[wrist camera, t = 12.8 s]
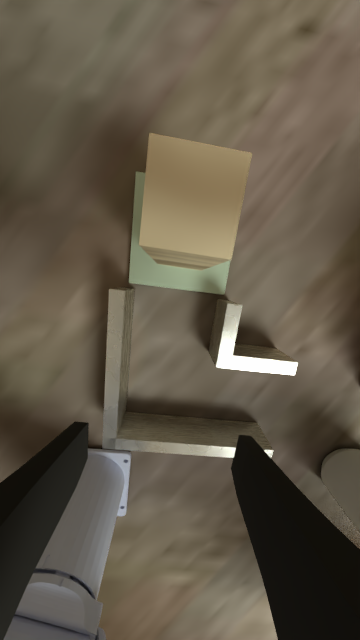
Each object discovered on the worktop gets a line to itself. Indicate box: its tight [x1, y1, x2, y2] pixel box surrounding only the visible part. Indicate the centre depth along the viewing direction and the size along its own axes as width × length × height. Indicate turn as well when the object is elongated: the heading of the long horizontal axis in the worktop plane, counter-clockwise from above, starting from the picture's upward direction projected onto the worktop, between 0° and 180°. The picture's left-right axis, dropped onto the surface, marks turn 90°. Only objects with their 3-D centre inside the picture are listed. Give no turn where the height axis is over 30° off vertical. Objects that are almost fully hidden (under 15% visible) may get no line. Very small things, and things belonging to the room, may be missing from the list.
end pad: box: [129, 171, 230, 295], centre depth 16 cm, size 9×9×1 cm
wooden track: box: [102, 287, 298, 458], centre depth 17 cm, size 15×16×4 cm
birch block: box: [139, 133, 252, 271], centre depth 12 cm, size 4×4×9 cm
